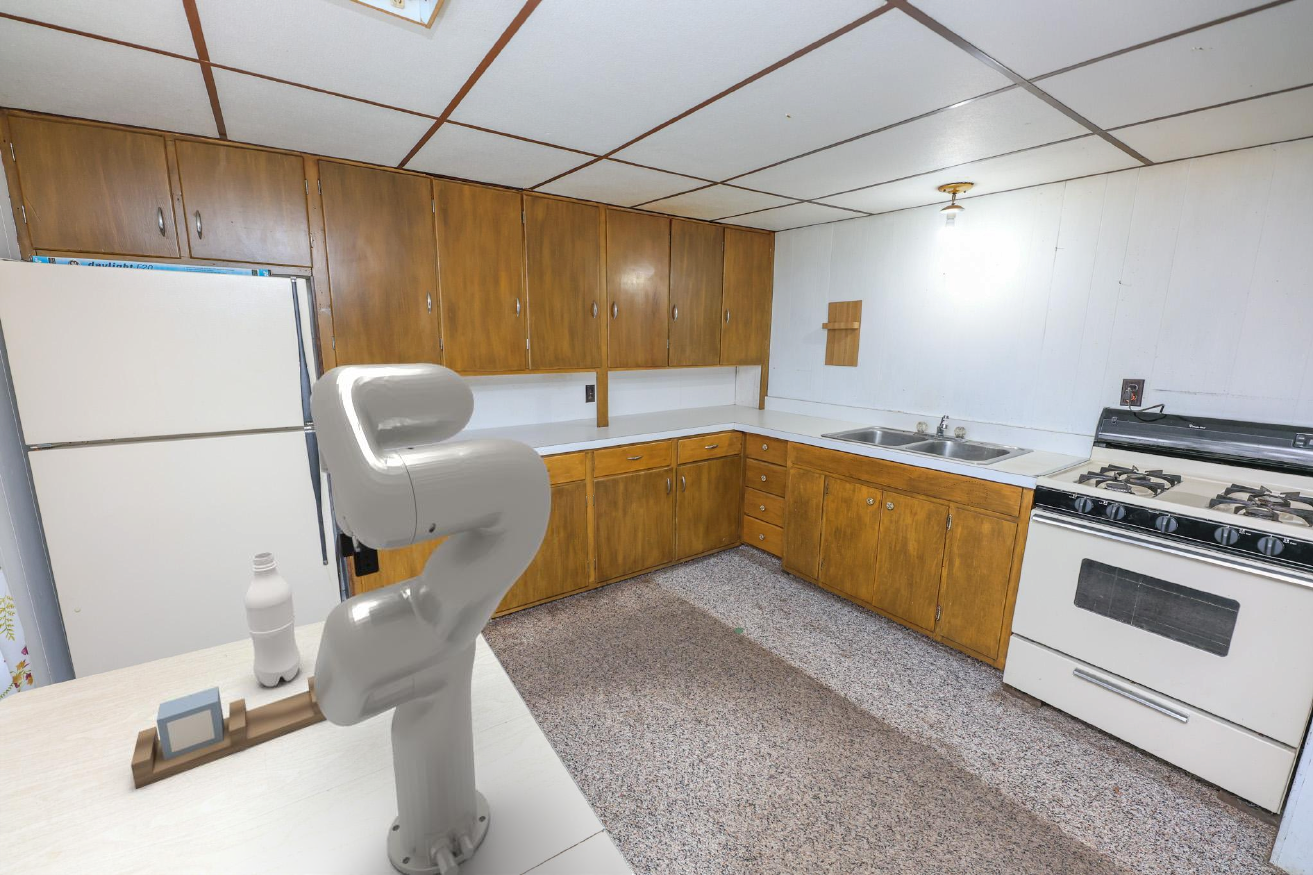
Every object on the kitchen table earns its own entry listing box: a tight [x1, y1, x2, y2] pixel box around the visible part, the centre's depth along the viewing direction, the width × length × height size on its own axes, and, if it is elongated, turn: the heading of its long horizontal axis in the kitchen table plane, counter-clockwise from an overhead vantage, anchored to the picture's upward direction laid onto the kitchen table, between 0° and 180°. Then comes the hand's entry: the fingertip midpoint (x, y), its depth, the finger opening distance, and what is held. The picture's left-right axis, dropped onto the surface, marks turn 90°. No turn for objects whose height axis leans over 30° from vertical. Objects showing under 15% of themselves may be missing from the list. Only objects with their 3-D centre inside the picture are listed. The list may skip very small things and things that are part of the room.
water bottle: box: [244, 551, 301, 687], centre depth 99 cm, size 7×7×25 cm
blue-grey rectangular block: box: [156, 686, 225, 761], centre depth 83 cm, size 4×7×7 cm, turn 128°
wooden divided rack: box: [130, 675, 328, 789], centre depth 87 cm, size 8×24×4 cm, turn 128°
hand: (360, 564), depth 84 cm, fingers open, 9 cm apart
